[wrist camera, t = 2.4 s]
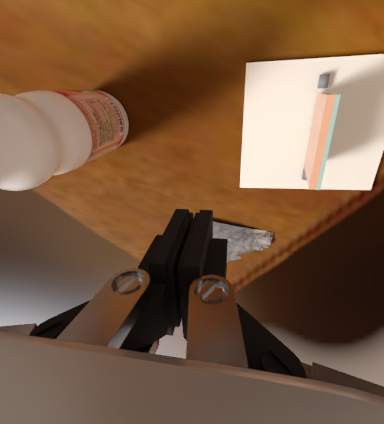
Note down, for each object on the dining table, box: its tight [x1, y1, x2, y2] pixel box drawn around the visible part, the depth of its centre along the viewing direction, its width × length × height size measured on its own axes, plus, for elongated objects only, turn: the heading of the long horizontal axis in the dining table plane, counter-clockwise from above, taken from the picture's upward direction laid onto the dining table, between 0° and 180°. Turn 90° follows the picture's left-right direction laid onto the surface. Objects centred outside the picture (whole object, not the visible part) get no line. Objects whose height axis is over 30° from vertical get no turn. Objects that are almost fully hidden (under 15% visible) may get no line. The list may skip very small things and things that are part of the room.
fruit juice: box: [0, 90, 129, 191], centre depth 28 cm, size 9×9×28 cm
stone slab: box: [213, 221, 274, 265], centre depth 47 cm, size 18×2×10 cm
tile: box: [304, 92, 341, 190], centre depth 30 cm, size 10×10×1 cm
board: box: [240, 54, 384, 190], centre depth 34 cm, size 18×20×2 cm
